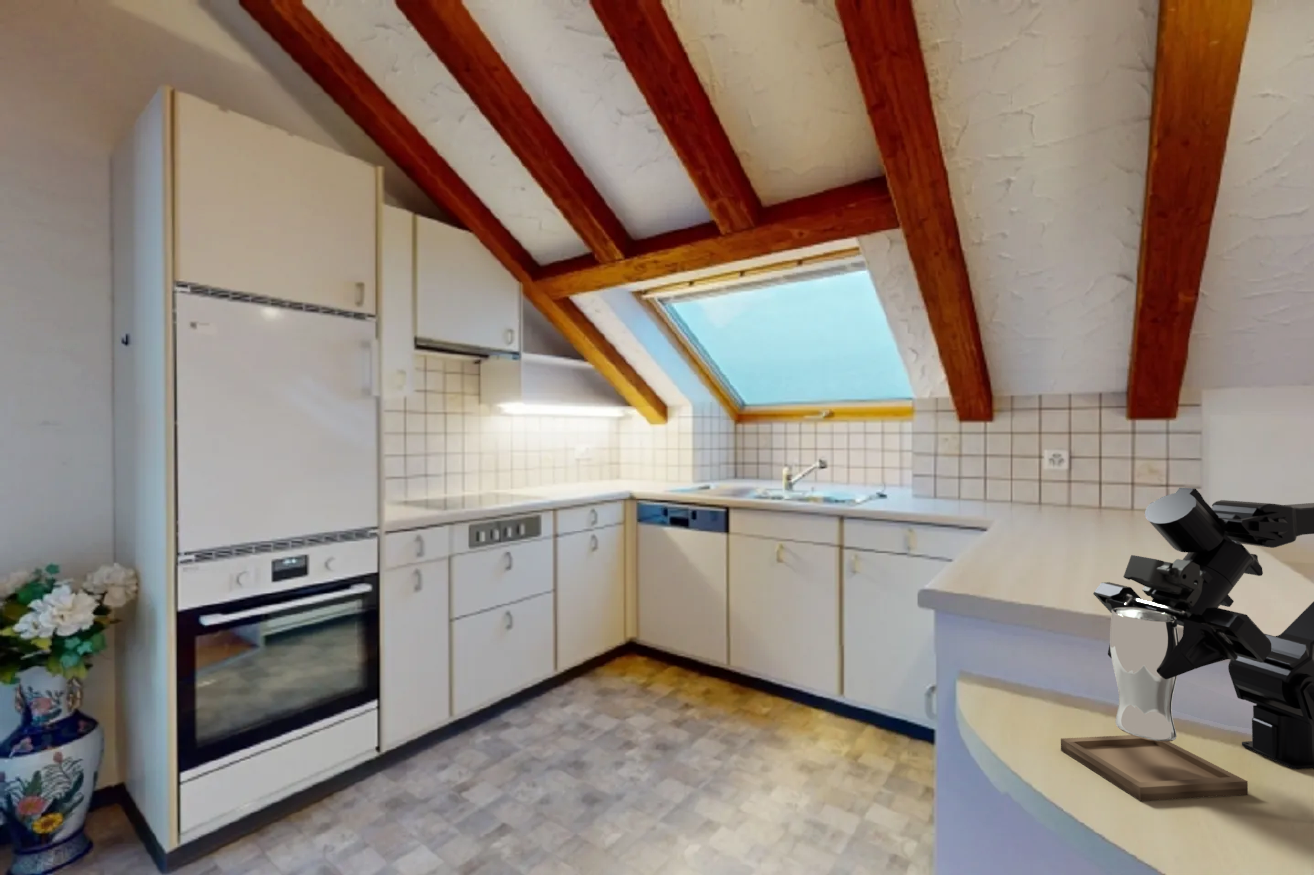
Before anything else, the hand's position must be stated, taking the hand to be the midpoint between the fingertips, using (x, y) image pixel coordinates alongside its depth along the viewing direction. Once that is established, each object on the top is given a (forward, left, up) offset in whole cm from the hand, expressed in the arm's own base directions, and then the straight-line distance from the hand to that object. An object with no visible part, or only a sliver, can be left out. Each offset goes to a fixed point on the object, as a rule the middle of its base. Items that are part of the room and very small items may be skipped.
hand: (1135, 666), depth 77 cm
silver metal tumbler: (-1, 0, -8) cm, 9 cm away
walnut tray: (-1, 0, -13) cm, 13 cm away
